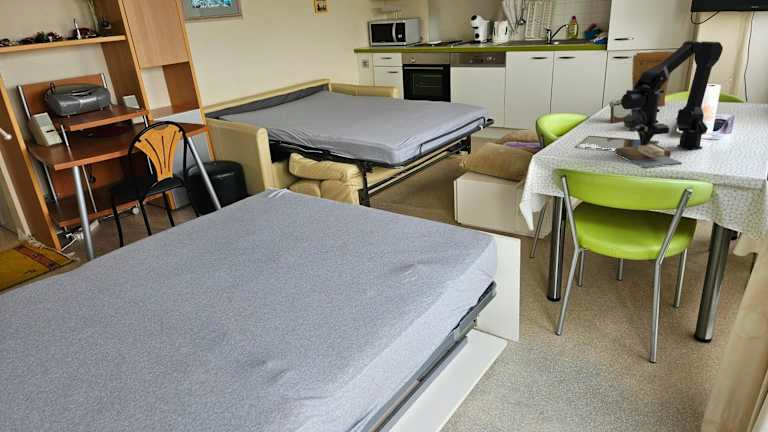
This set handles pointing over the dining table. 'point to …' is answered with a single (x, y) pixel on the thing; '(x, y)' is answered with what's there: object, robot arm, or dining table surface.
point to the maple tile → (651, 150)
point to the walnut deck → (637, 152)
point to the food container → (618, 111)
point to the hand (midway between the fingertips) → (643, 147)
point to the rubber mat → (656, 161)
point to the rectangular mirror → (613, 142)
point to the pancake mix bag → (646, 62)
